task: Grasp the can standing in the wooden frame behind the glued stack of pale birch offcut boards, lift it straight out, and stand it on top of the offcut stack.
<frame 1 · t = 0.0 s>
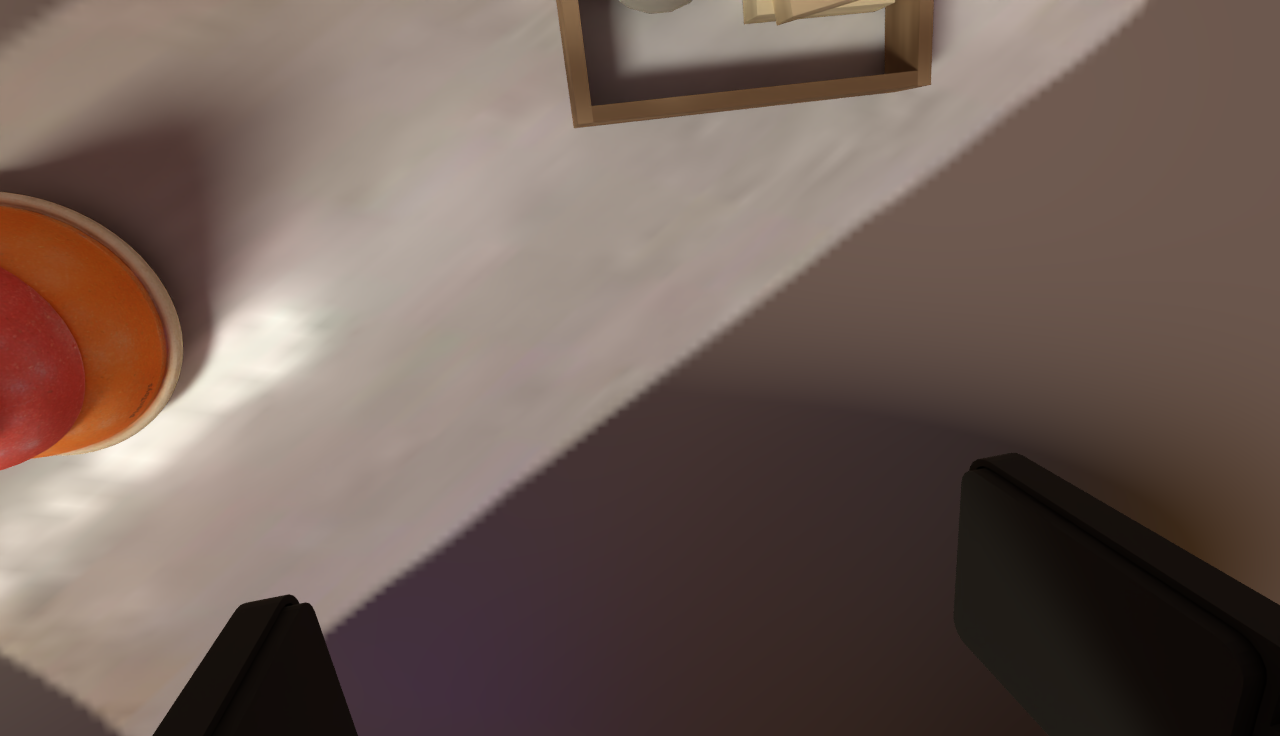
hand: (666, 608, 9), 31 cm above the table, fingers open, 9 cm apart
stacking toy: (57, 322, 35), on the table
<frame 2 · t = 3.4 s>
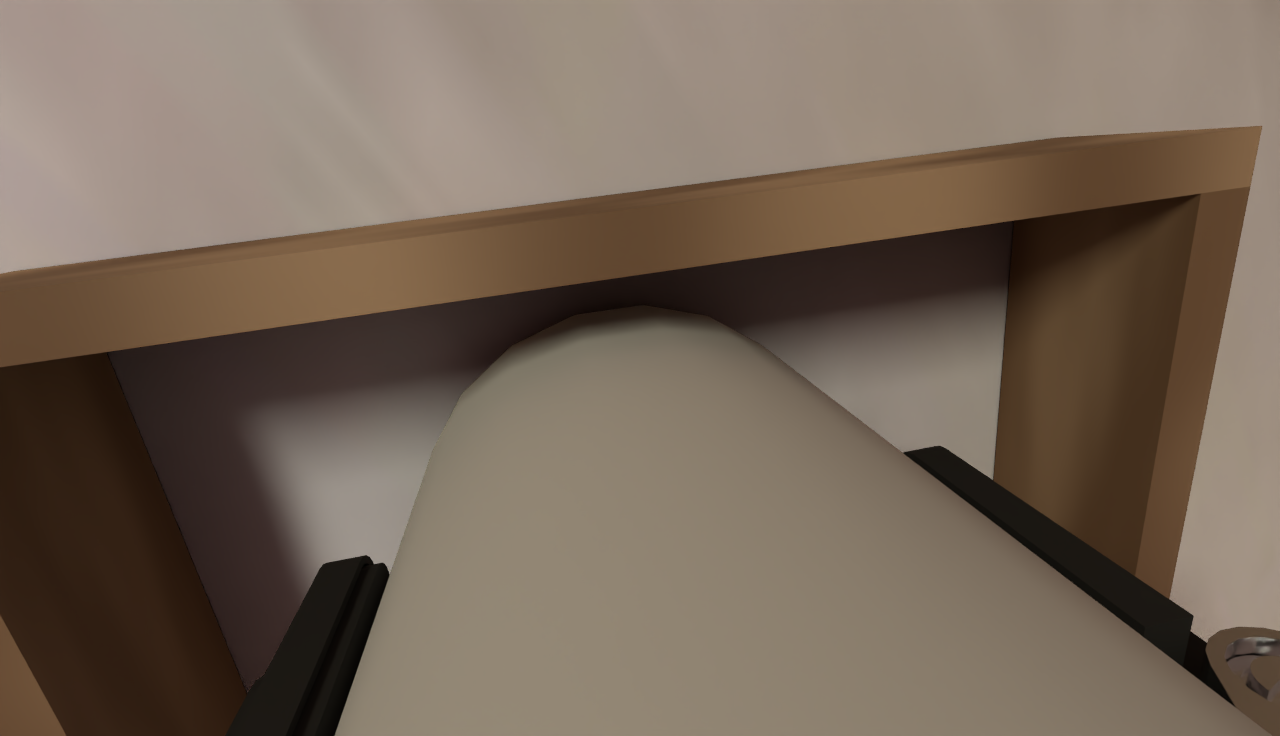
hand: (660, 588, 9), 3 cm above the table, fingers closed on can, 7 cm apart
can: (625, 474, 13), resting in wooden frame, touching gripper
wooden frame: (651, 656, 14), on the table
when the fingers open (8 cm above the table, at t = 8.5 s): can stays where it is, resting on offcut stack.
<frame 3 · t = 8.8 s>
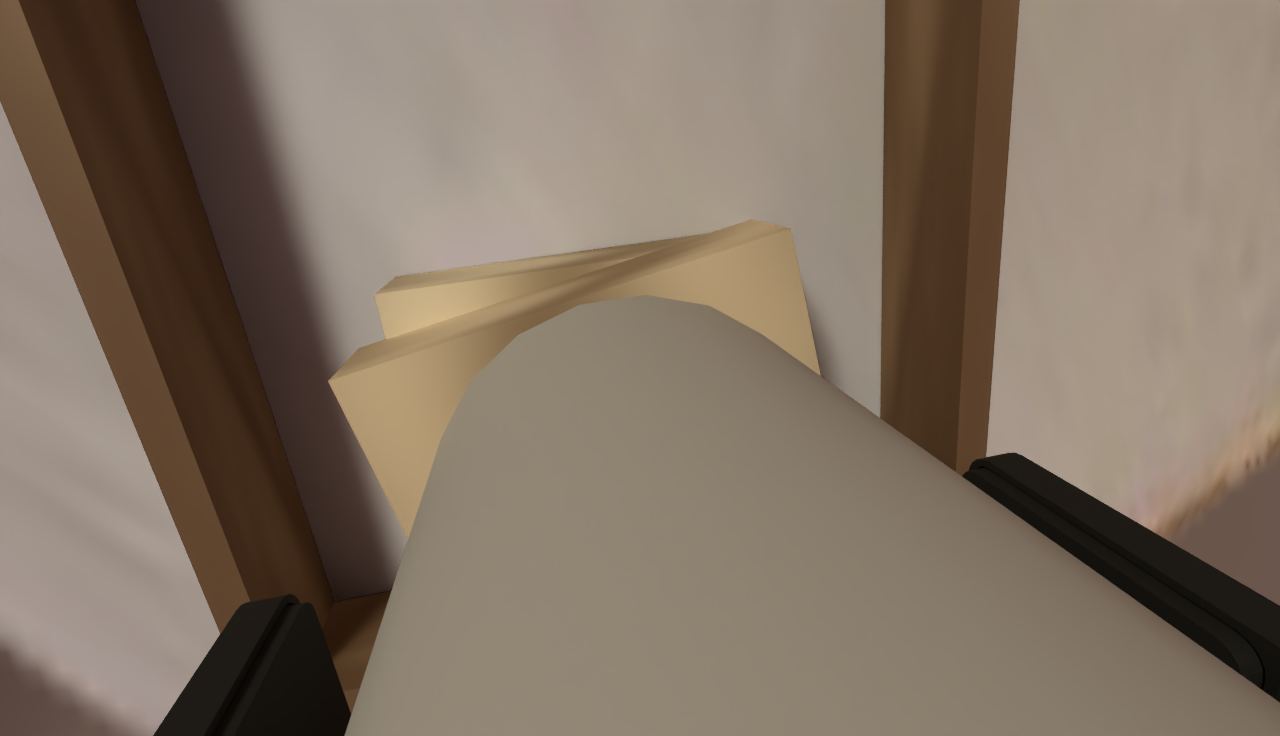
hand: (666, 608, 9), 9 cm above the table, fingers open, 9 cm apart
offcut stack: (600, 398, 17), resting in wooden frame
can: (628, 462, 13), point 4 cm above the table, touching offcut stack
wooden frame: (576, 231, 15), on the table
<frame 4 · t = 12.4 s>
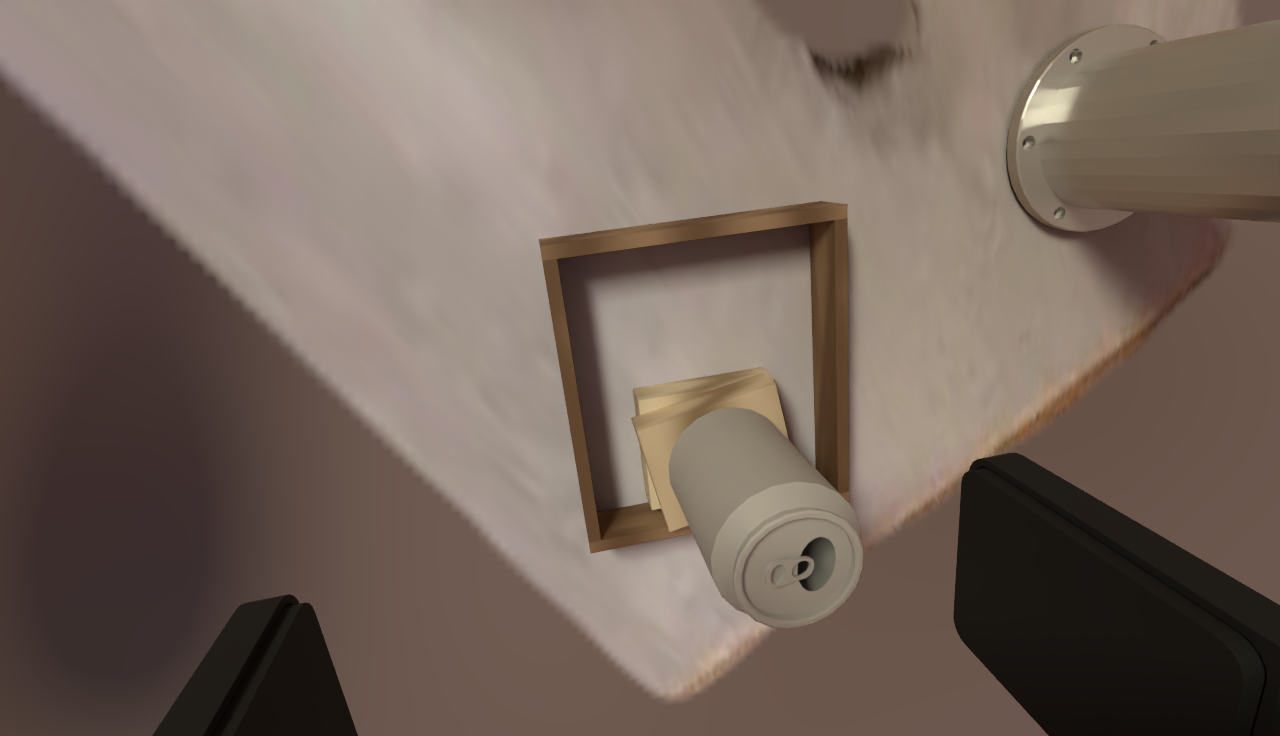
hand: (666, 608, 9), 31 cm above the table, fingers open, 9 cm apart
offcut stack: (703, 431, 43), resting in wooden frame
can: (722, 456, 39), point 4 cm above the table, touching offcut stack
wooden frame: (697, 371, 42), on the table
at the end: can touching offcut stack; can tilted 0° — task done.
